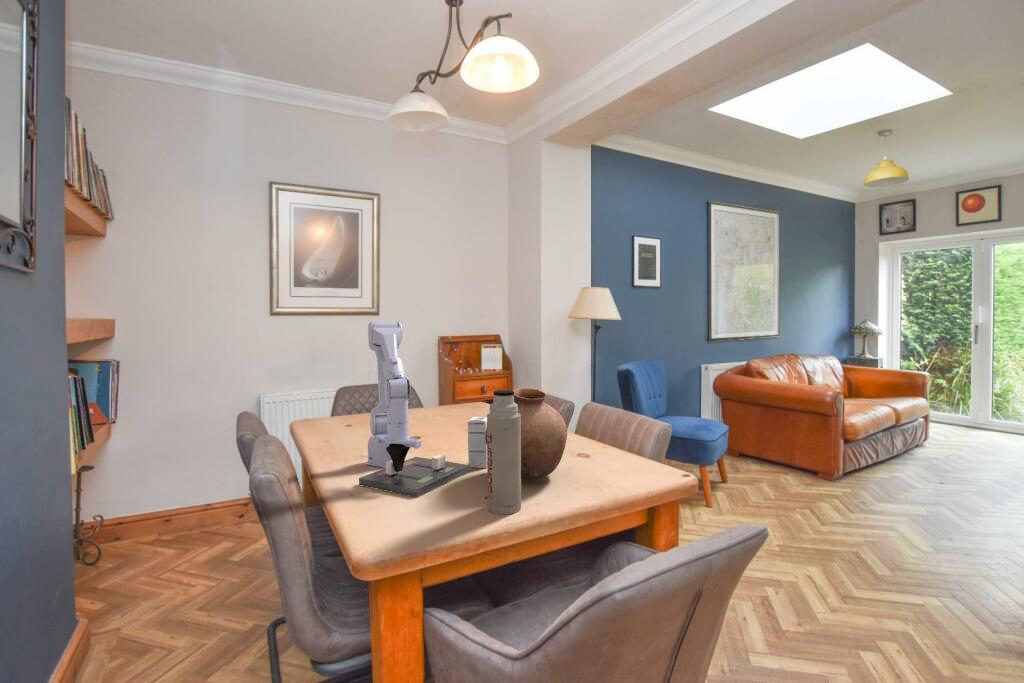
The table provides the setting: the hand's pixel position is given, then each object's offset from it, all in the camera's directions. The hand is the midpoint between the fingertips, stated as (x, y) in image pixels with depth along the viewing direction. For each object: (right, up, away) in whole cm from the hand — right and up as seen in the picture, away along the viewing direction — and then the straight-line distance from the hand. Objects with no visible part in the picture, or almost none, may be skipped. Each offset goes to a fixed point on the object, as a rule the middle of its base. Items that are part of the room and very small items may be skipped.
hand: (398, 471), depth 140 cm
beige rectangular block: (-2, -1, +1) cm, 2 cm away
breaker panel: (+4, -3, +4) cm, 6 cm away
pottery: (+35, -3, +4) cm, 35 cm away
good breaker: (+10, 0, +6) cm, 12 cm away
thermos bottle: (+29, -4, -19) cm, 35 cm away
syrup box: (+21, -3, +16) cm, 27 cm away
